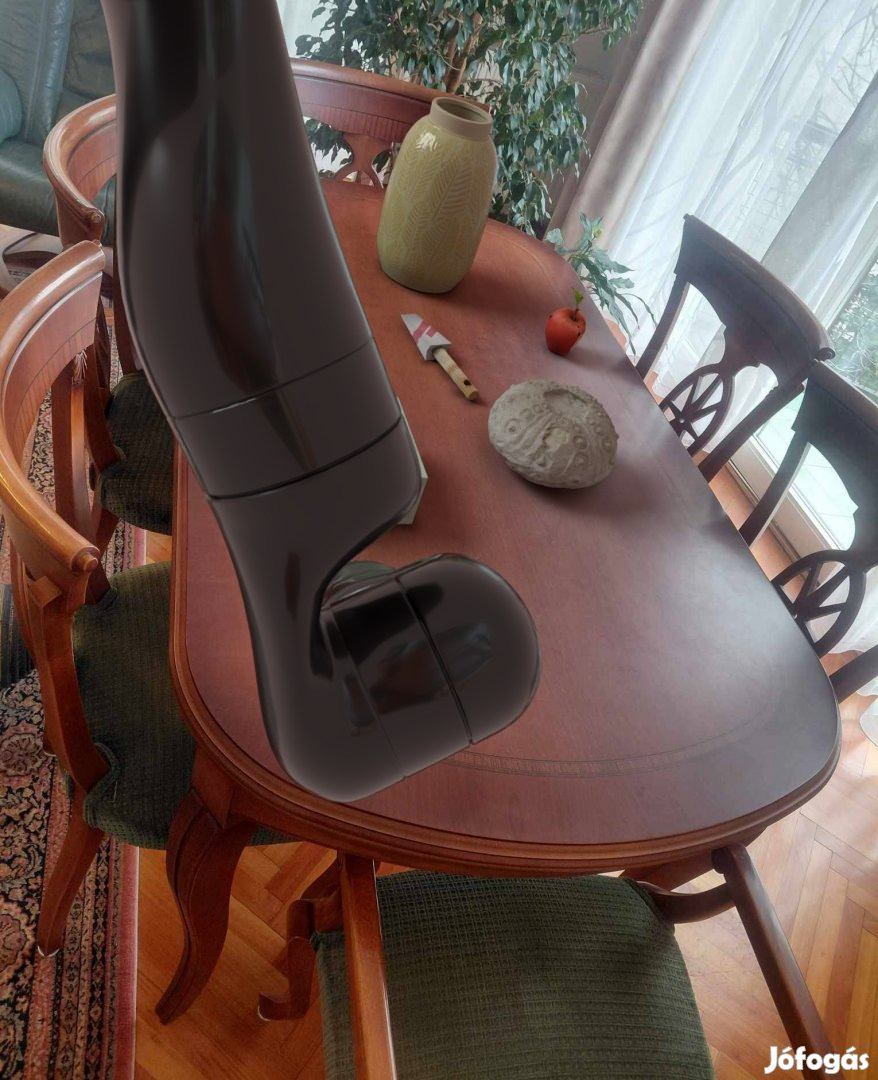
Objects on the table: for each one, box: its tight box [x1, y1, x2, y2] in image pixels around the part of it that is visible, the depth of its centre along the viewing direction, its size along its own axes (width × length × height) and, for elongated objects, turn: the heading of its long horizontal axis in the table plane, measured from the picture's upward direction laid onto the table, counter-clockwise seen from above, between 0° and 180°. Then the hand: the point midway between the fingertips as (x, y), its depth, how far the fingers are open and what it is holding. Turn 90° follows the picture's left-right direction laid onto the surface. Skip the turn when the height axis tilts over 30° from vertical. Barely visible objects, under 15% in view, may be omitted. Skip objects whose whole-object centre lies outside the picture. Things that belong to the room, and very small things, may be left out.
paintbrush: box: [400, 313, 480, 401], centre depth 117 cm, size 4×3×20 cm
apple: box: [544, 286, 587, 356], centre depth 127 cm, size 8×7×10 cm
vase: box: [375, 96, 499, 294], centre depth 127 cm, size 17×17×27 cm
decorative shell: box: [487, 378, 620, 490], centre depth 103 cm, size 18×18×10 cm
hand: (350, 603), depth 62 cm, fingers closed on cup, 5 cm apart
